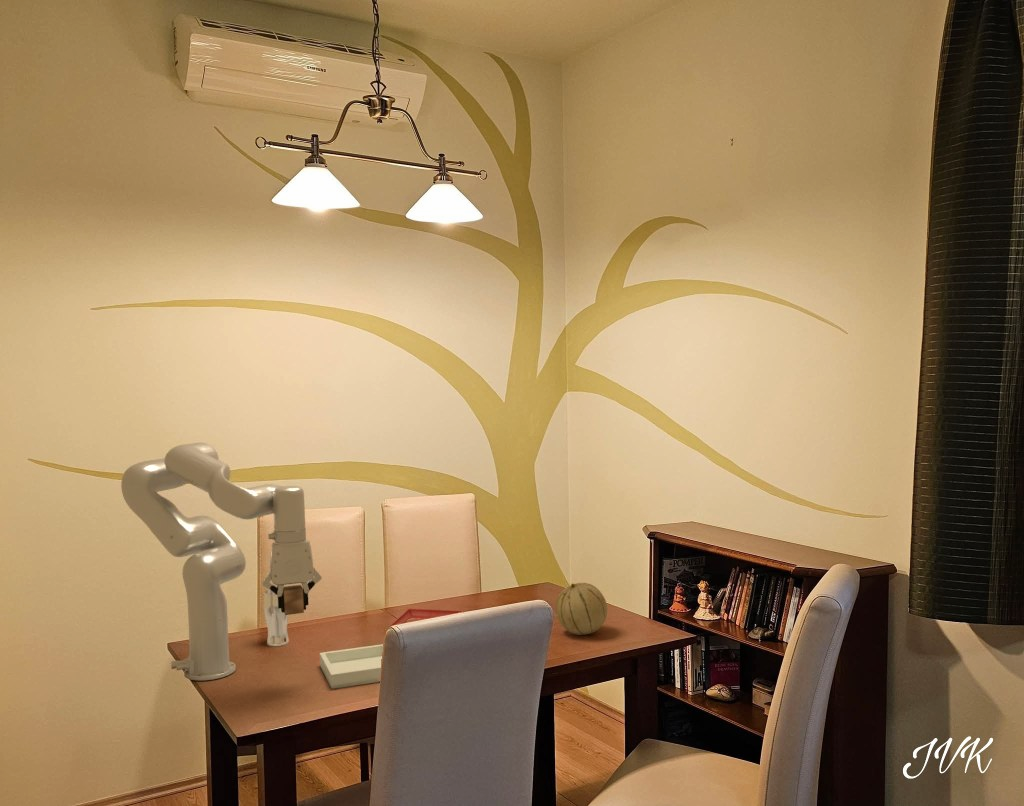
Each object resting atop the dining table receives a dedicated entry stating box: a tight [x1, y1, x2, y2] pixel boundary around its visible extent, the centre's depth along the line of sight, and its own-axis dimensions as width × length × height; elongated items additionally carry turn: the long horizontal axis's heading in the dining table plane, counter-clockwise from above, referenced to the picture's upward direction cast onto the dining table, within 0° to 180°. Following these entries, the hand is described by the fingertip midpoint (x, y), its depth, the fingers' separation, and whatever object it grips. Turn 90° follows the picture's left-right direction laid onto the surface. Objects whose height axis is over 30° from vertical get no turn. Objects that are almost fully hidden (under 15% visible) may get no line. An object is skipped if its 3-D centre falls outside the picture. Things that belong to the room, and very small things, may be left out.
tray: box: [319, 643, 384, 690], centre depth 225 cm, size 18×18×4 cm
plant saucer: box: [388, 608, 464, 628], centre depth 263 cm, size 18×18×3 cm
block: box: [283, 584, 305, 616], centre depth 218 cm, size 4×4×6 cm
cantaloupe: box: [555, 582, 608, 636], centre depth 253 cm, size 15×15×15 cm
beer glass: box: [263, 589, 290, 647], centre depth 251 cm, size 7×7×15 cm
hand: (293, 609), depth 218 cm, fingers closed on block, 4 cm apart
